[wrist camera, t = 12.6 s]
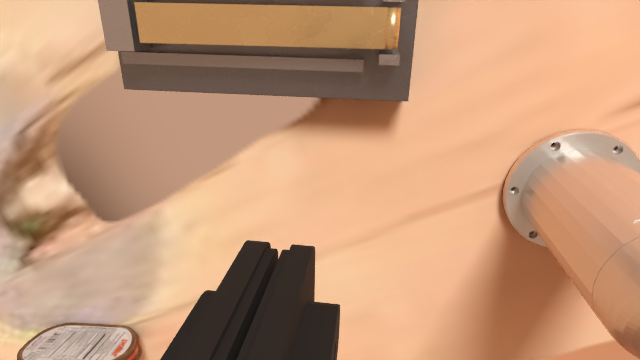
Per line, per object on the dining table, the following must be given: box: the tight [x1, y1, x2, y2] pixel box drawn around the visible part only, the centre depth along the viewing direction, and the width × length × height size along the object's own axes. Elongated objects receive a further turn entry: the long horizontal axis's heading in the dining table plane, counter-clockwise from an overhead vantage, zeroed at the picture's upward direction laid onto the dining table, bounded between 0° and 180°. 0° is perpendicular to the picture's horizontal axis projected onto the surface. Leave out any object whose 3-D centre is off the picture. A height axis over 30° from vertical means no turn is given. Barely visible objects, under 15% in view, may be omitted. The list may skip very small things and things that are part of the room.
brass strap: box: [134, 2, 401, 50], centre depth 33 cm, size 21×3×1 cm, turn 89°
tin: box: [17, 323, 141, 360], centre depth 53 cm, size 15×3×8 cm, turn 92°
